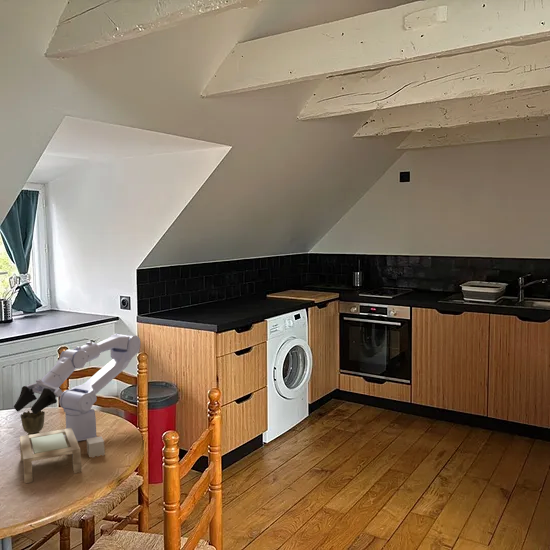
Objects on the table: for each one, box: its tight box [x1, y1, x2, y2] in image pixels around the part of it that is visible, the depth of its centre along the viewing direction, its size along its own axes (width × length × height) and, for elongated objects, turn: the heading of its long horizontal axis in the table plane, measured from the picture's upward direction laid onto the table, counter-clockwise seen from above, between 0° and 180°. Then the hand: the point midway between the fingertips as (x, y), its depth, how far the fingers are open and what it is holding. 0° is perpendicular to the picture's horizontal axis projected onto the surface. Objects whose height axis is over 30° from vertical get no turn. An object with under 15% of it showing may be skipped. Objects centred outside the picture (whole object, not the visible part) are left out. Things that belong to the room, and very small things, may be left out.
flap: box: [30, 433, 70, 456], centre depth 168 cm, size 10×12×3 cm
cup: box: [20, 410, 46, 435], centre depth 190 cm, size 8×7×8 cm
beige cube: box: [86, 435, 106, 458], centre depth 177 cm, size 4×4×4 cm
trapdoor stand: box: [19, 428, 82, 484], centre depth 168 cm, size 15×18×7 cm
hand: (24, 410), depth 170 cm, fingers open, 7 cm apart
